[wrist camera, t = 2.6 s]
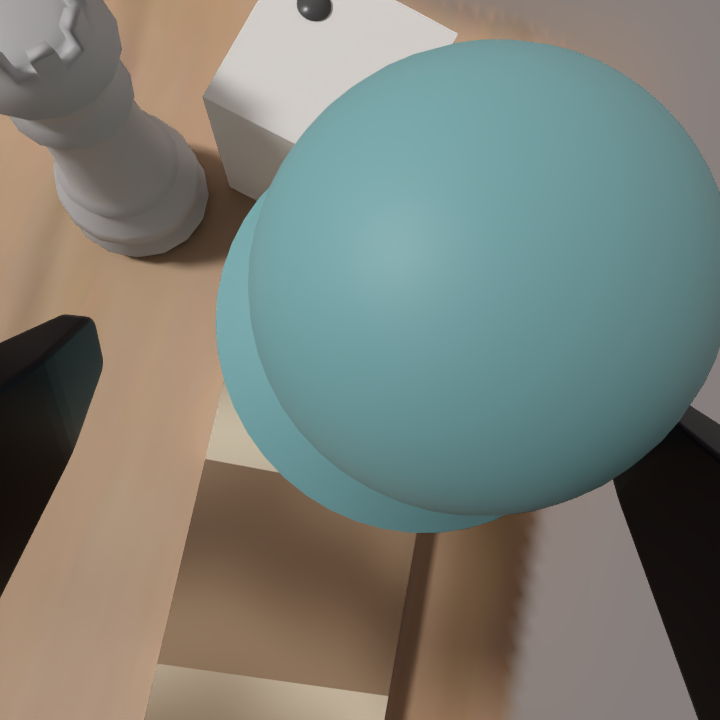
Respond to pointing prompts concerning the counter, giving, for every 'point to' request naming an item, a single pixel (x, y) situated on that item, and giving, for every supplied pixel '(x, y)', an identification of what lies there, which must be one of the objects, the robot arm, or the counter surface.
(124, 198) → the rook chess piece
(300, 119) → the die
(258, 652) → the board
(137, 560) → the counter surface
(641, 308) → the pawn
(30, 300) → the counter surface
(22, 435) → the robot arm
